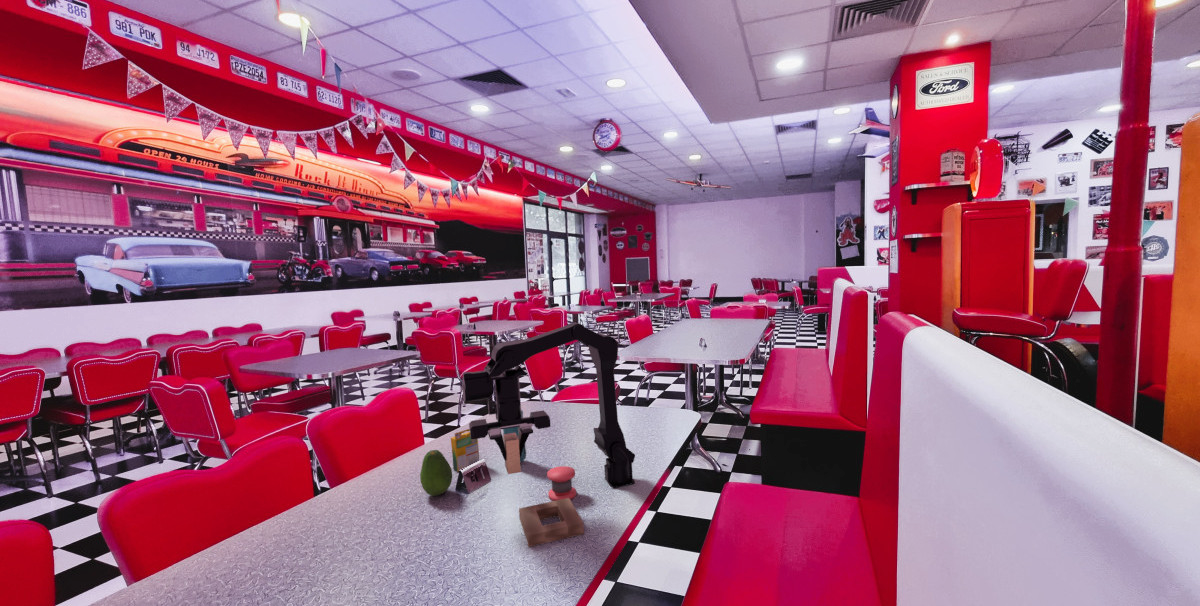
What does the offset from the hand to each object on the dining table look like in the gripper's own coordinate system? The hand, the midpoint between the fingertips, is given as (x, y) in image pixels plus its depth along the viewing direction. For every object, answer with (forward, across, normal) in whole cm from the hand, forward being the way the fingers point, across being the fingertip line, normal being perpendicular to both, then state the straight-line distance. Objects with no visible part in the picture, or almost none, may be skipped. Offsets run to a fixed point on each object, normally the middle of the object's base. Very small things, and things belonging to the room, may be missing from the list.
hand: (512, 458), depth 115 cm
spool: (+12, -12, -1) cm, 17 cm away
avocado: (+12, +18, -15) cm, 26 cm away
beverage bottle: (+12, -4, -26) cm, 29 cm away
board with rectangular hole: (+12, -6, +12) cm, 18 cm away
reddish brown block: (+3, 0, 0) cm, 3 cm away
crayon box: (+12, +10, -30) cm, 34 cm away
